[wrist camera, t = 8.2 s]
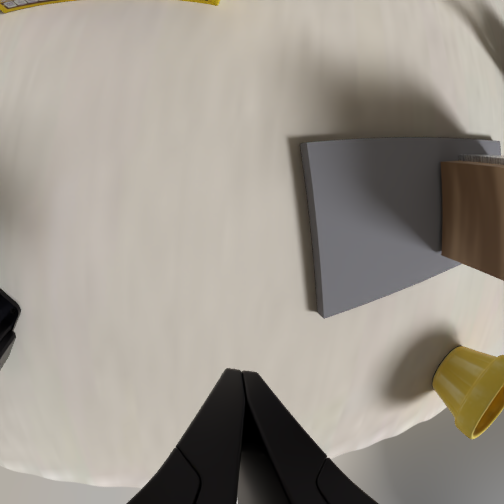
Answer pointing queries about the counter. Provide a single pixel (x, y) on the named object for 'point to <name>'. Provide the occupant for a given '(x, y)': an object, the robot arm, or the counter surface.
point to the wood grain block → (473, 215)
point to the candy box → (6, 3)
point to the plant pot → (471, 388)
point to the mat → (377, 214)
